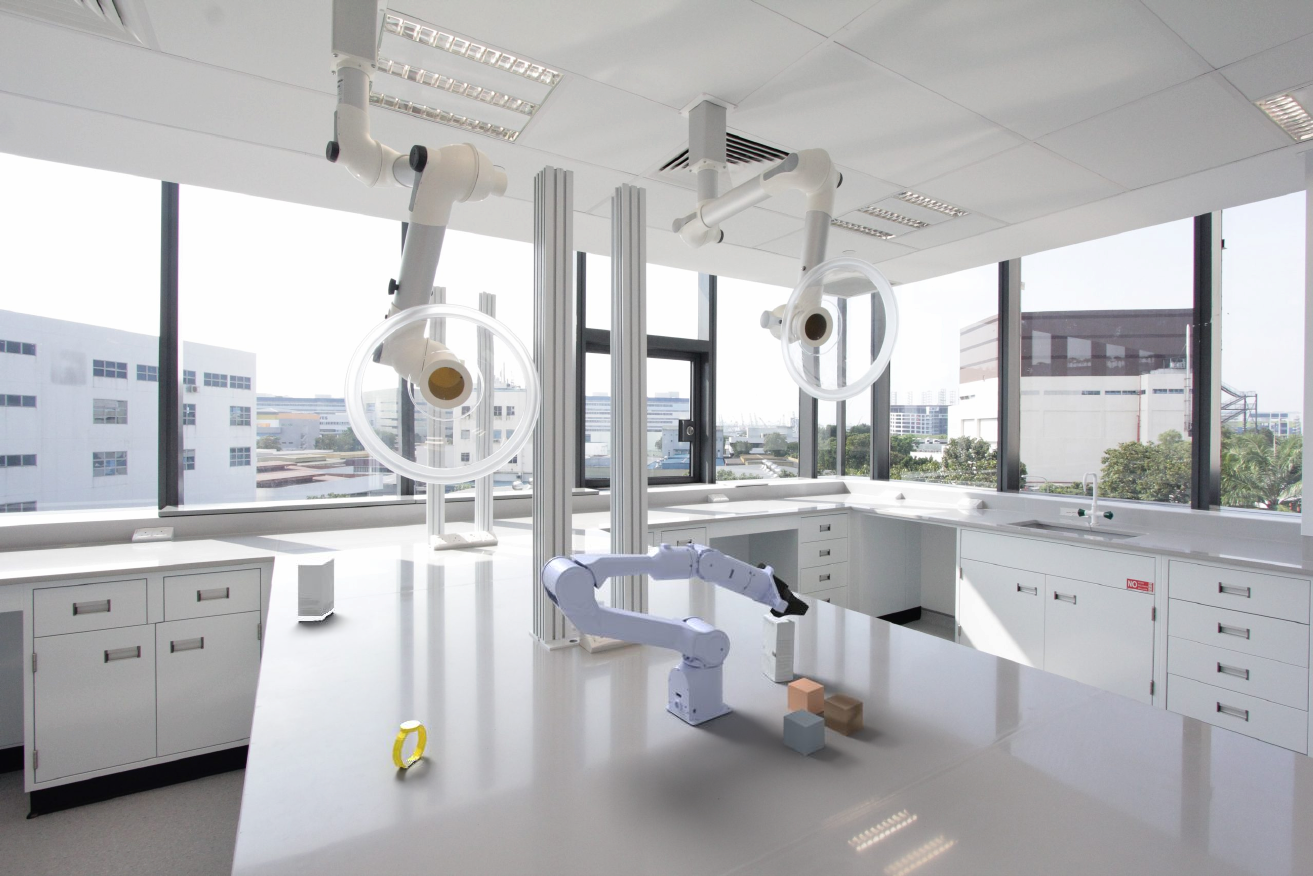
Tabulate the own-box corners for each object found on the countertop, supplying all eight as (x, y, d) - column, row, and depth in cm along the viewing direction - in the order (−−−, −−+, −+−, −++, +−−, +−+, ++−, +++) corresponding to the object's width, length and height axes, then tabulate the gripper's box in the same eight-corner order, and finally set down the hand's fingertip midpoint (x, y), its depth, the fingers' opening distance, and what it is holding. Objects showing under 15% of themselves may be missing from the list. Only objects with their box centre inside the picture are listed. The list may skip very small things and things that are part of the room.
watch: (415, 754, 94) (416, 715, 94) (430, 757, 93) (431, 717, 93) (387, 772, 88) (389, 730, 89) (403, 775, 87) (404, 733, 88)
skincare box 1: (311, 613, 167) (310, 557, 167) (336, 612, 168) (335, 556, 168) (296, 622, 159) (296, 564, 159) (323, 621, 159) (322, 563, 159)
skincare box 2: (761, 672, 125) (761, 614, 125) (780, 669, 126) (780, 612, 126) (775, 683, 119) (775, 622, 119) (795, 681, 120) (795, 620, 120)
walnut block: (846, 736, 98) (846, 709, 98) (823, 726, 102) (823, 699, 102) (862, 728, 101) (862, 702, 101) (840, 718, 104) (840, 692, 104)
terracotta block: (807, 718, 105) (807, 692, 105) (787, 708, 108) (787, 683, 108) (824, 711, 107) (824, 686, 107) (804, 702, 111) (804, 677, 111)
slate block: (805, 756, 92) (805, 727, 92) (783, 744, 96) (783, 716, 96) (824, 747, 95) (824, 719, 95) (802, 735, 99) (802, 708, 99)
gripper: (770, 578, 104) (826, 601, 109) (735, 542, 117) (787, 564, 123) (750, 612, 105) (807, 634, 110) (718, 573, 118) (770, 594, 123)
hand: (795, 599), depth 117 cm, fingers open, 7 cm apart
